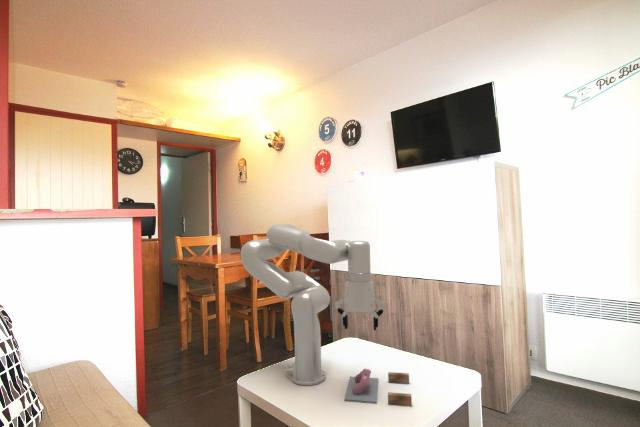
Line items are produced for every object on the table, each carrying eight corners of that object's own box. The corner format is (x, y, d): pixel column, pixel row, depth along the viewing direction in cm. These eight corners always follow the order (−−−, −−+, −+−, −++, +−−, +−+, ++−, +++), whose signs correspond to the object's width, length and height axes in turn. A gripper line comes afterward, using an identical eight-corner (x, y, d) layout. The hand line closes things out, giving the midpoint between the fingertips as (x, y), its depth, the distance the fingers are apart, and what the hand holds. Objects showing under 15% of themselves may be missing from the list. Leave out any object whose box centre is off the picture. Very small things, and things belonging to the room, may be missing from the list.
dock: (388, 404, 105) (387, 394, 105) (388, 380, 121) (388, 372, 121) (411, 406, 104) (411, 396, 104) (408, 382, 119) (408, 373, 119)
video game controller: (363, 400, 109) (372, 381, 109) (350, 393, 110) (359, 374, 110) (365, 386, 119) (374, 368, 119) (353, 379, 120) (362, 361, 119)
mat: (344, 401, 108) (344, 399, 108) (350, 378, 123) (350, 376, 123) (376, 403, 106) (376, 401, 106) (378, 380, 121) (378, 378, 121)
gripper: (332, 279, 114) (333, 330, 113) (385, 279, 110) (386, 333, 110) (335, 275, 121) (336, 324, 121) (385, 276, 118) (386, 326, 117)
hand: (360, 328), depth 115 cm, fingers open, 9 cm apart
